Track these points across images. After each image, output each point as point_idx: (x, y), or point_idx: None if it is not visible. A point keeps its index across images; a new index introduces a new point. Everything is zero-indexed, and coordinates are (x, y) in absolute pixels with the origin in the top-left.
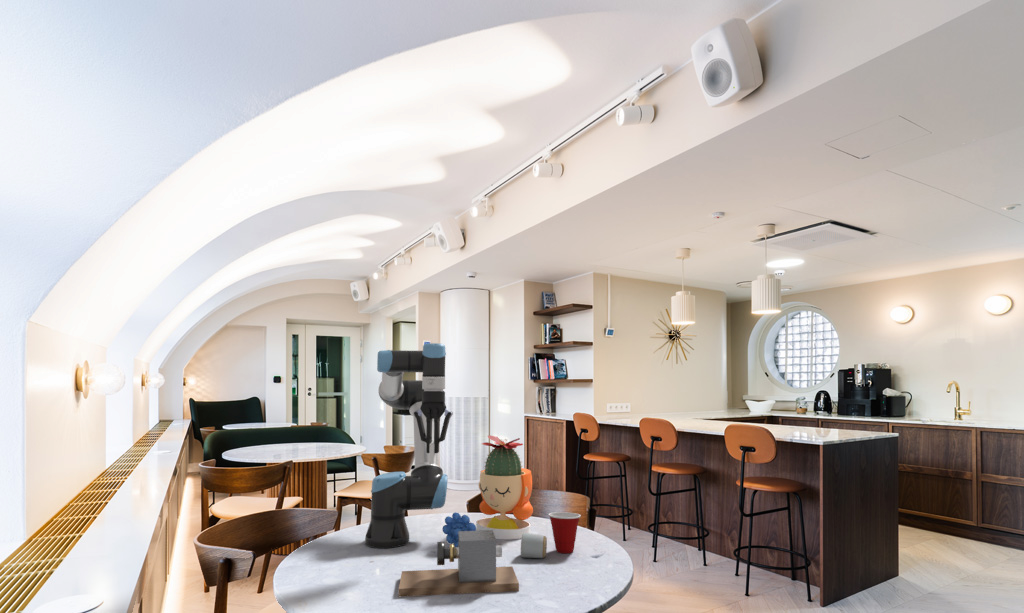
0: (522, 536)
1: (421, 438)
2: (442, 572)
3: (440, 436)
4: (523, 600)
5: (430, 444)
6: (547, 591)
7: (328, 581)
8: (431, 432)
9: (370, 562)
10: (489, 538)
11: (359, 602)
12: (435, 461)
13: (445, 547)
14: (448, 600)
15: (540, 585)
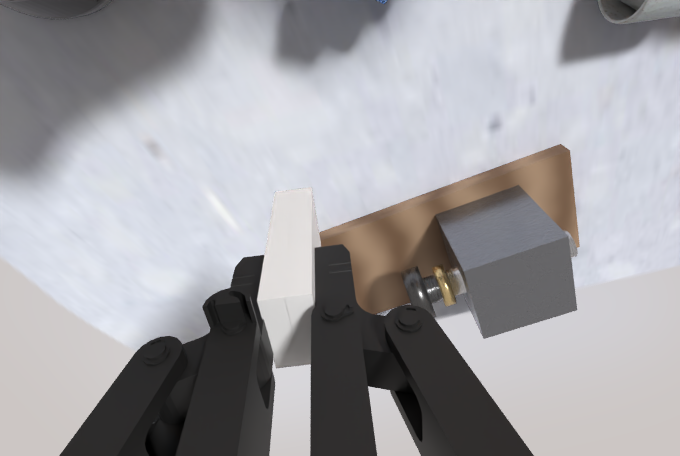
0: (645, 6)
1: (168, 425)
2: (400, 231)
3: (408, 418)
4: (577, 274)
5: (287, 360)
6: (630, 225)
7: (161, 287)
8: (249, 435)
9: (157, 157)
10: (559, 305)
11: None
12: (313, 206)
13: (431, 296)
14: (439, 304)
15: (621, 199)
